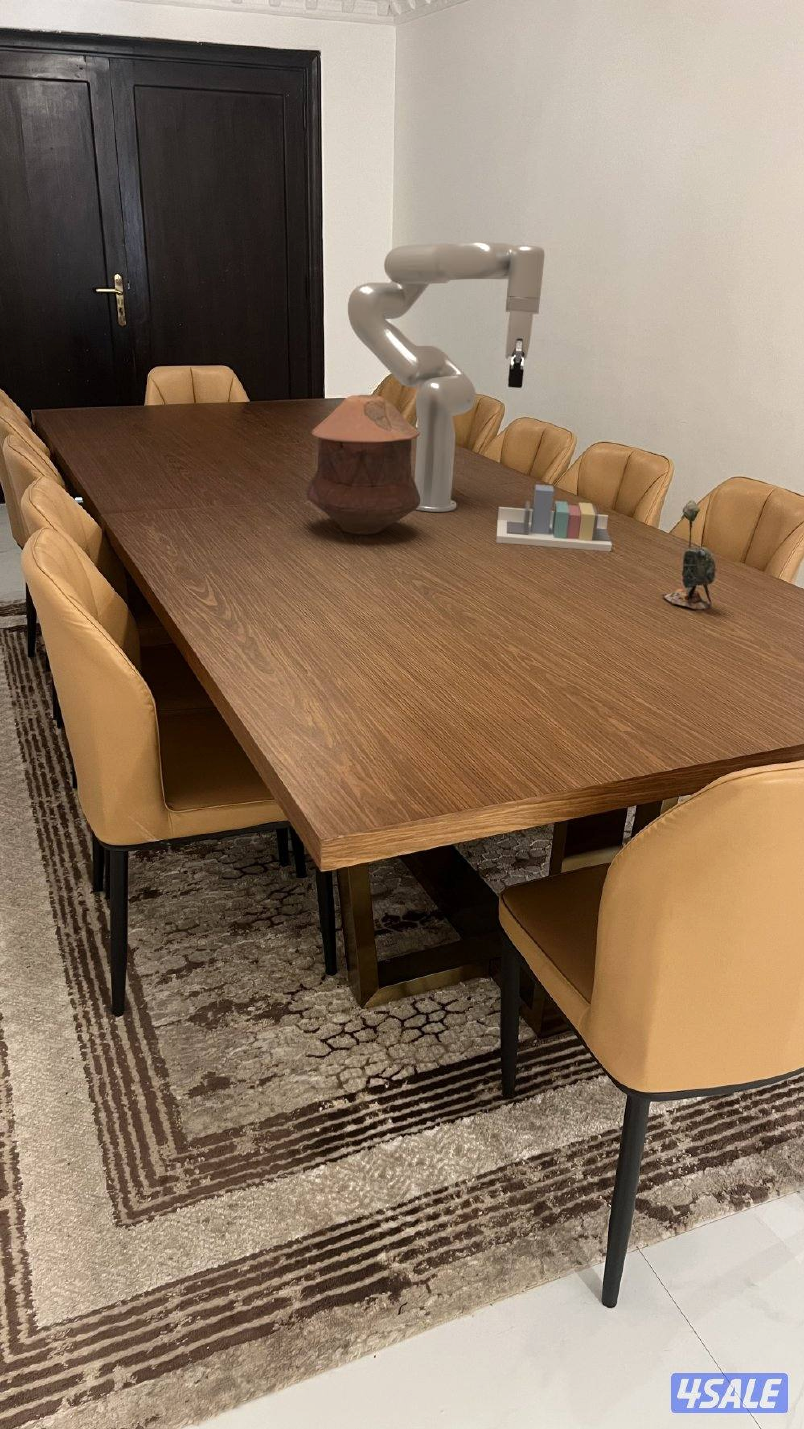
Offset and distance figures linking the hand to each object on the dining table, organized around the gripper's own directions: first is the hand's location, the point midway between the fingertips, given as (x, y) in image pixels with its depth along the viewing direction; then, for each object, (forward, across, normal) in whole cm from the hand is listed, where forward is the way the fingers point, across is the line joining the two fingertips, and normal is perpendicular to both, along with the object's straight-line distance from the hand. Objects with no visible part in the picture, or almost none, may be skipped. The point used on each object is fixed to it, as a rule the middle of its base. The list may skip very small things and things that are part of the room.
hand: (514, 384), depth 236 cm
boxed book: (+31, +12, +9) cm, 34 cm away
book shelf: (+32, +12, +12) cm, 36 cm away
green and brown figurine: (+32, +55, +37) cm, 74 cm away
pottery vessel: (+32, +19, -32) cm, 49 cm away
